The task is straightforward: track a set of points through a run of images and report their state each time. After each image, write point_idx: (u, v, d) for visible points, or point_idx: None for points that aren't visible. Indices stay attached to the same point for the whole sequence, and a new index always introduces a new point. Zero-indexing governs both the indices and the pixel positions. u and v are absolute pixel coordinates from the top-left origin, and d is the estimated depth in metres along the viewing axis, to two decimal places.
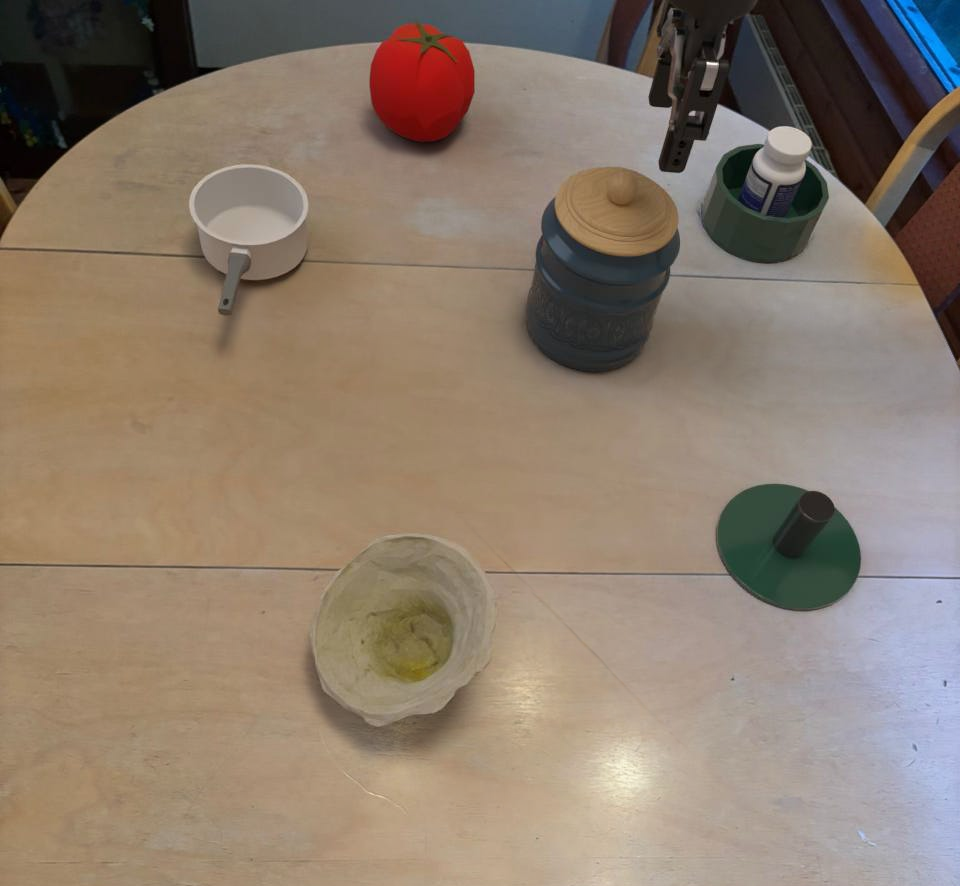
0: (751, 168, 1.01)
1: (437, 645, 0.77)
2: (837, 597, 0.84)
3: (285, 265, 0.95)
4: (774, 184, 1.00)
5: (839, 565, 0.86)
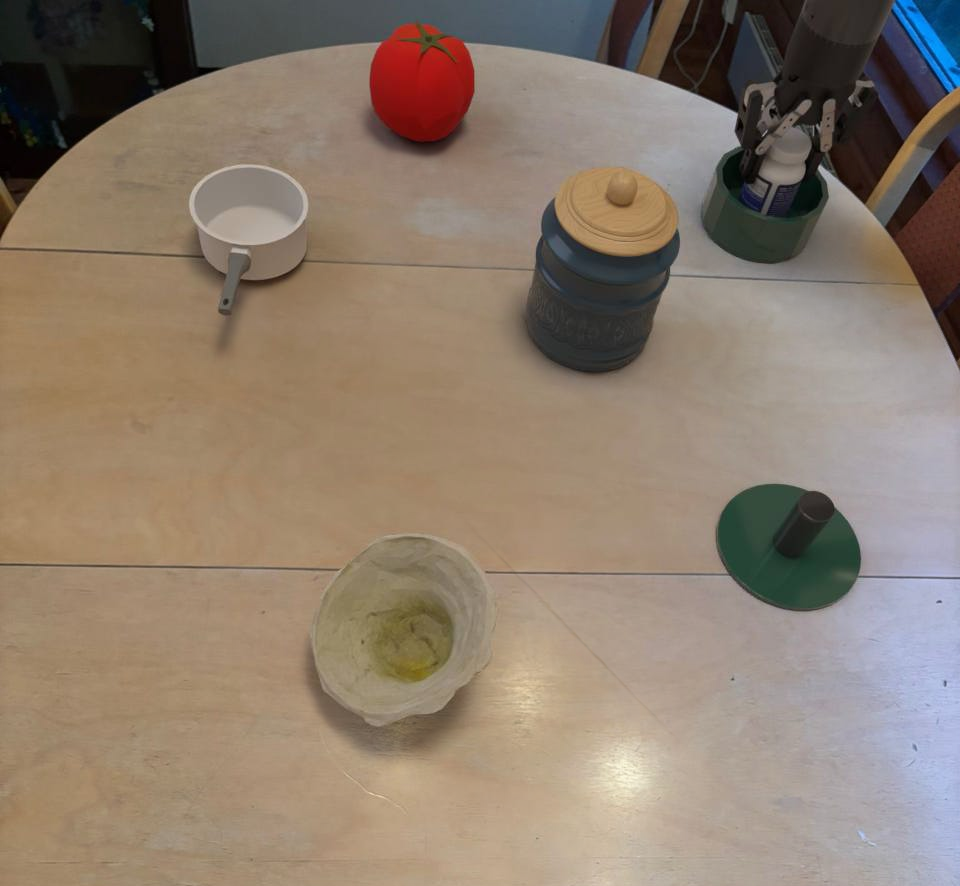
0: None
1: (437, 645, 0.77)
2: (837, 597, 0.84)
3: (285, 265, 0.95)
4: (774, 184, 1.00)
5: (839, 565, 0.86)
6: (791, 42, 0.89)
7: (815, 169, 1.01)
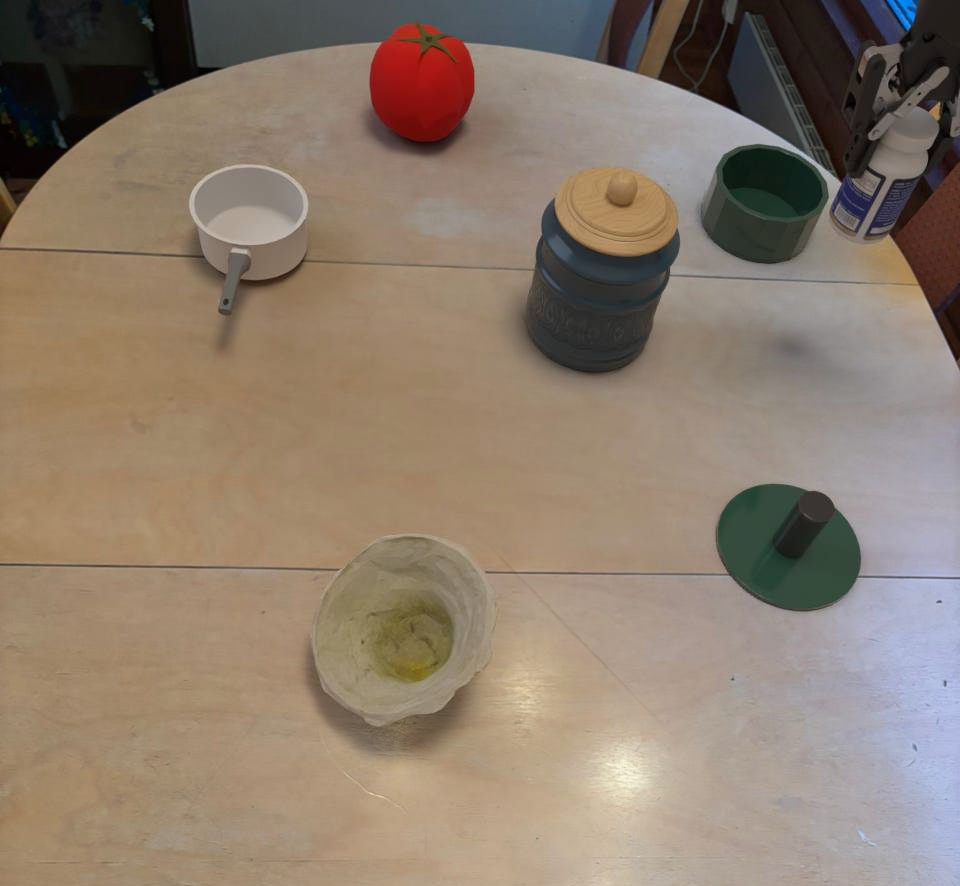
0: None
1: (437, 645, 0.77)
2: (837, 597, 0.84)
3: (285, 265, 0.95)
4: (888, 178, 0.78)
5: (839, 565, 0.86)
6: None
7: (939, 159, 0.79)
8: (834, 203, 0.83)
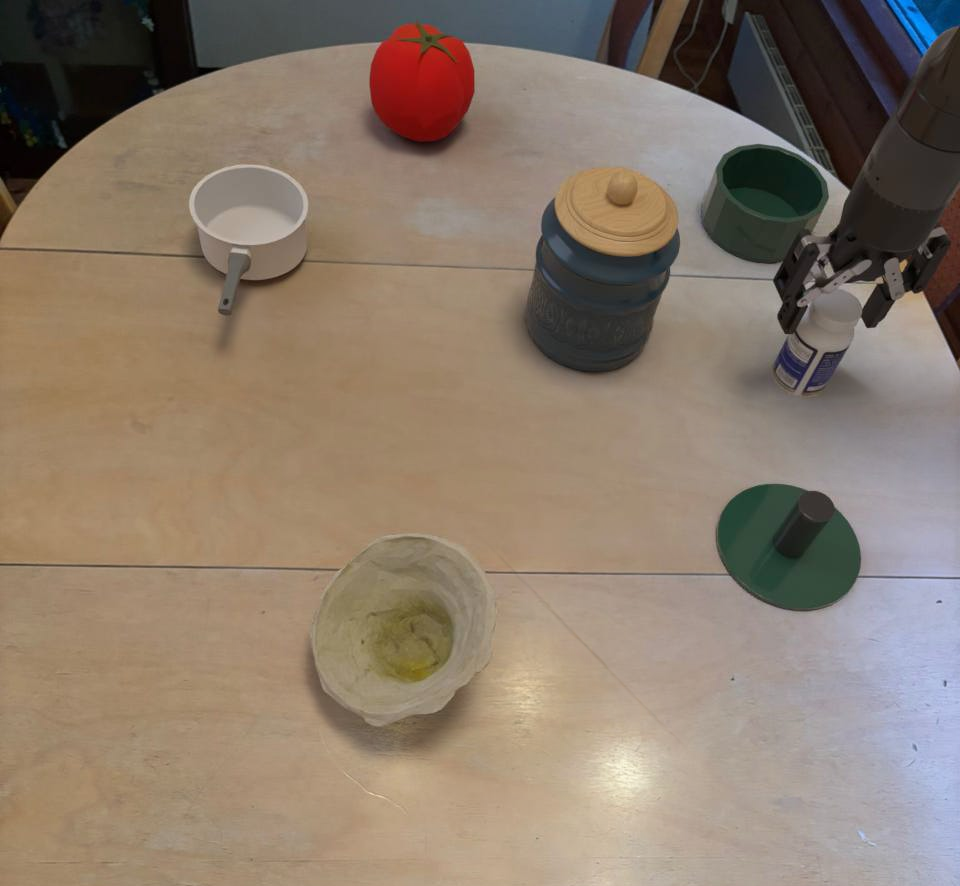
0: None
1: (437, 645, 0.77)
2: (837, 597, 0.84)
3: (285, 265, 0.95)
4: (820, 351, 0.90)
5: (839, 565, 0.86)
6: (850, 200, 0.78)
7: (883, 315, 0.90)
8: (776, 363, 0.95)
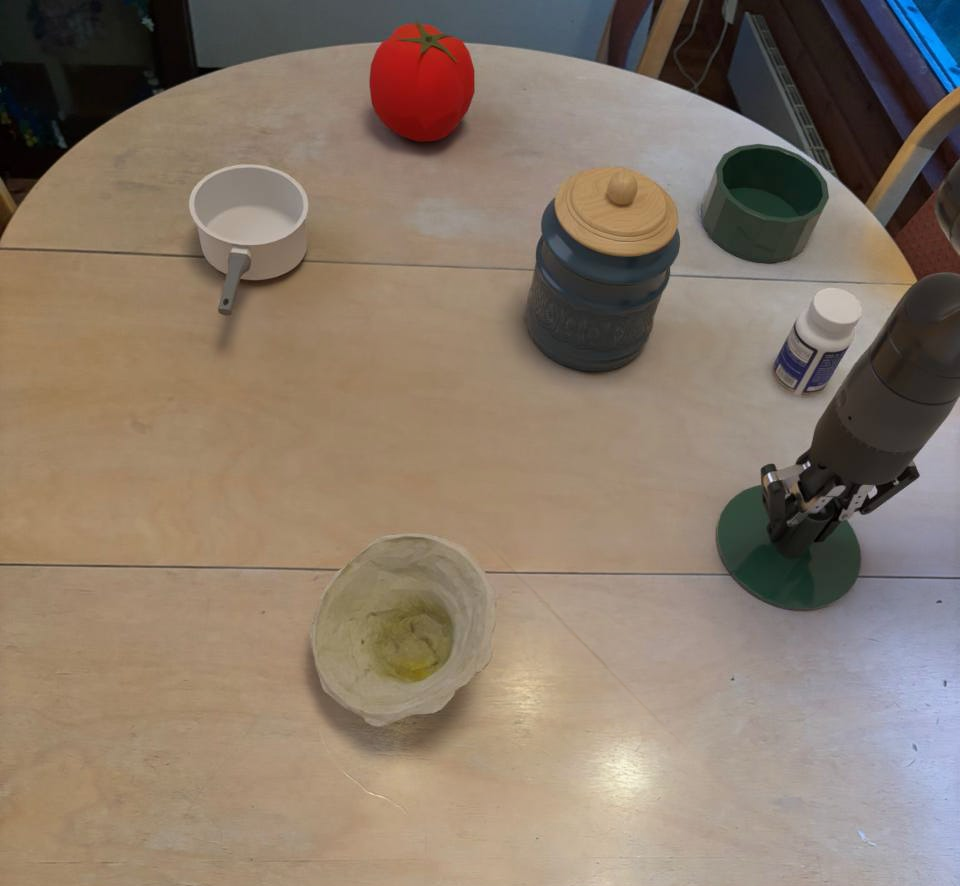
0: (794, 331, 0.91)
1: (437, 645, 0.77)
2: (837, 597, 0.84)
3: (285, 265, 0.95)
4: (820, 351, 0.90)
5: (839, 565, 0.86)
6: (821, 428, 0.72)
7: (831, 531, 0.84)
8: (776, 363, 0.95)
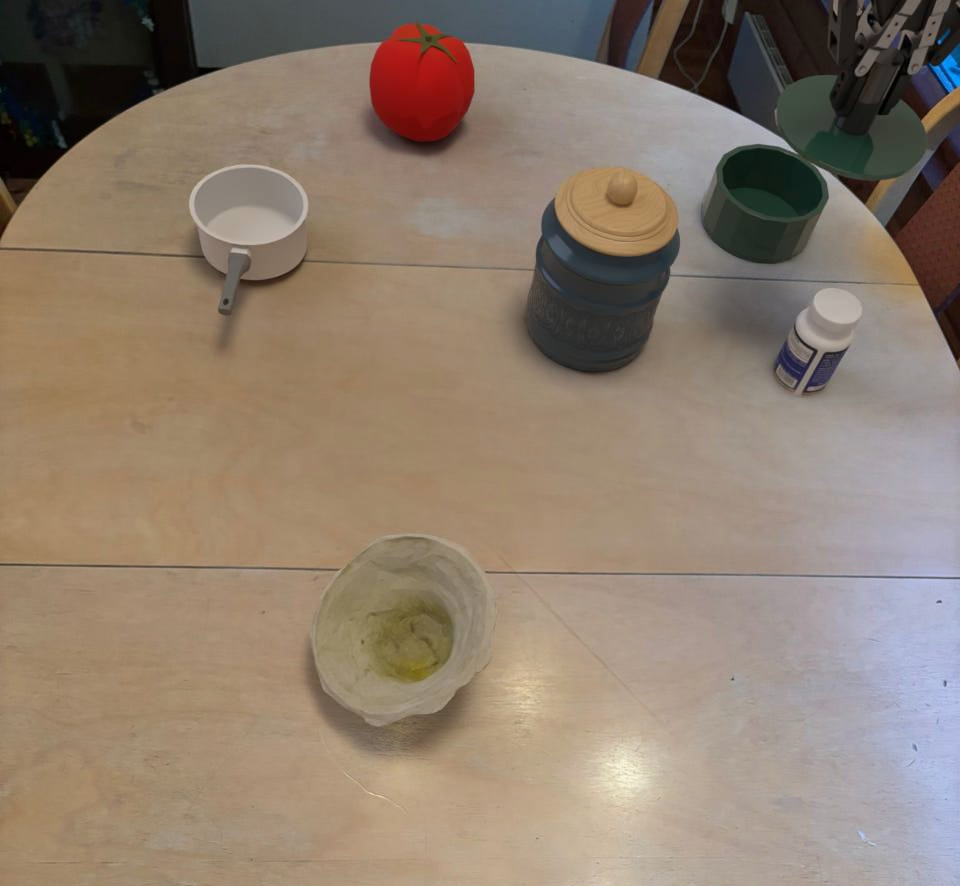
0: (794, 331, 0.91)
1: (437, 645, 0.77)
2: (905, 168, 0.80)
3: (285, 265, 0.95)
4: (820, 351, 0.90)
5: (905, 143, 0.81)
6: None
7: (897, 98, 0.80)
8: (776, 363, 0.95)
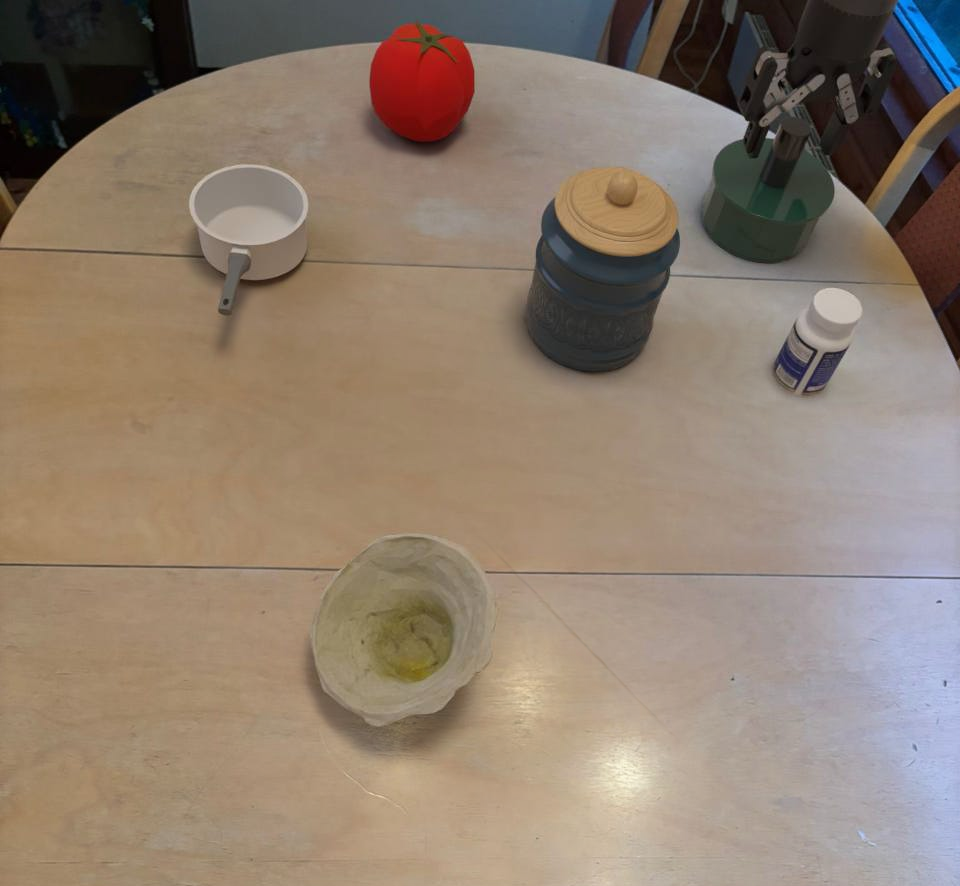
0: (794, 331, 0.91)
1: (437, 645, 0.77)
2: (814, 215, 1.00)
3: (285, 265, 0.95)
4: (820, 351, 0.90)
5: (816, 194, 1.01)
6: (804, 15, 0.87)
7: (840, 142, 0.98)
8: (776, 363, 0.95)
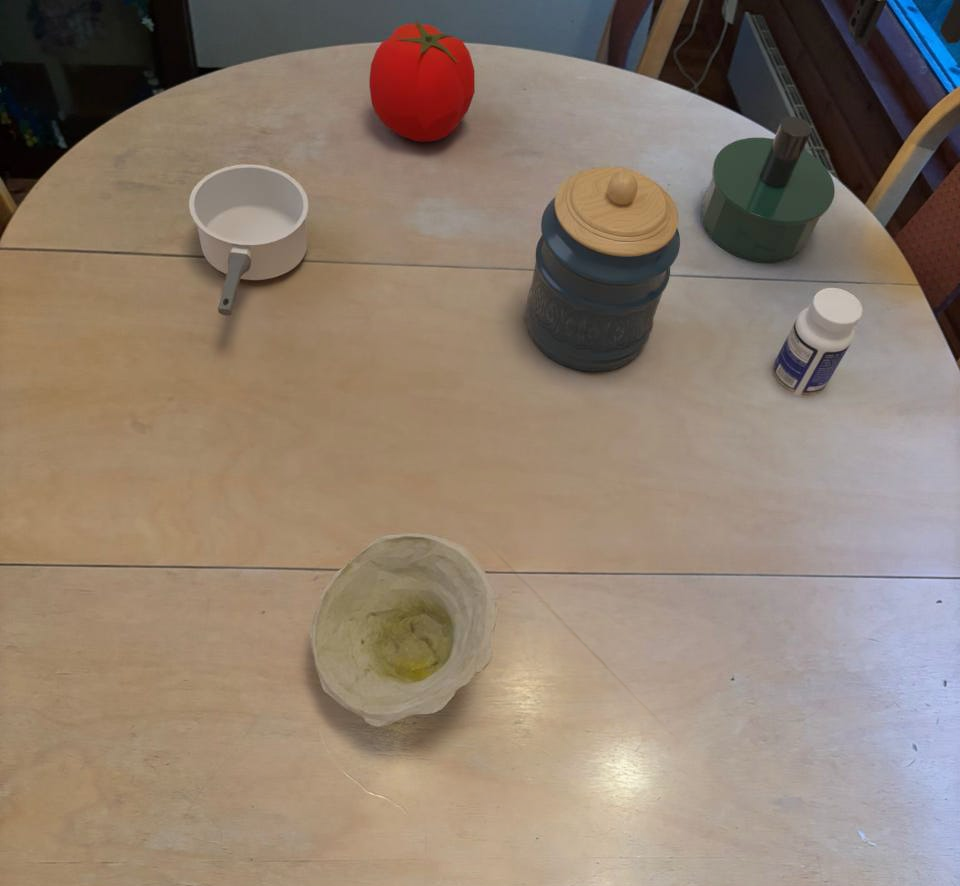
0: (794, 331, 0.91)
1: (437, 645, 0.77)
2: (814, 215, 1.00)
3: (285, 265, 0.95)
4: (820, 351, 0.90)
5: (816, 194, 1.01)
6: None
7: None
8: (776, 363, 0.95)
